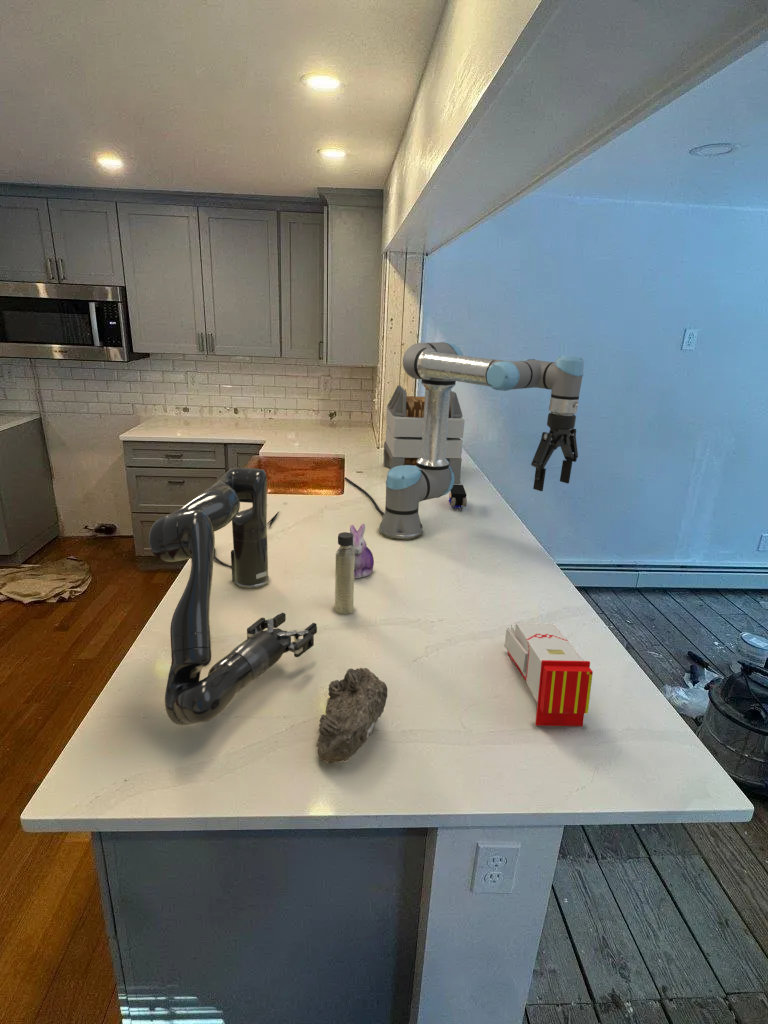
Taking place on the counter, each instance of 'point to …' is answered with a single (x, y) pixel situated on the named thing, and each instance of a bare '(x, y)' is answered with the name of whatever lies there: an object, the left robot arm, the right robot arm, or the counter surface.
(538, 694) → the toy
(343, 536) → the cap
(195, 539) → the left robot arm
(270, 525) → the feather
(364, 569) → the figurine
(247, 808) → the counter surface
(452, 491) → the figurine character
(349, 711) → the fossil
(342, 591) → the bottle
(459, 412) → the grey wooden crate
